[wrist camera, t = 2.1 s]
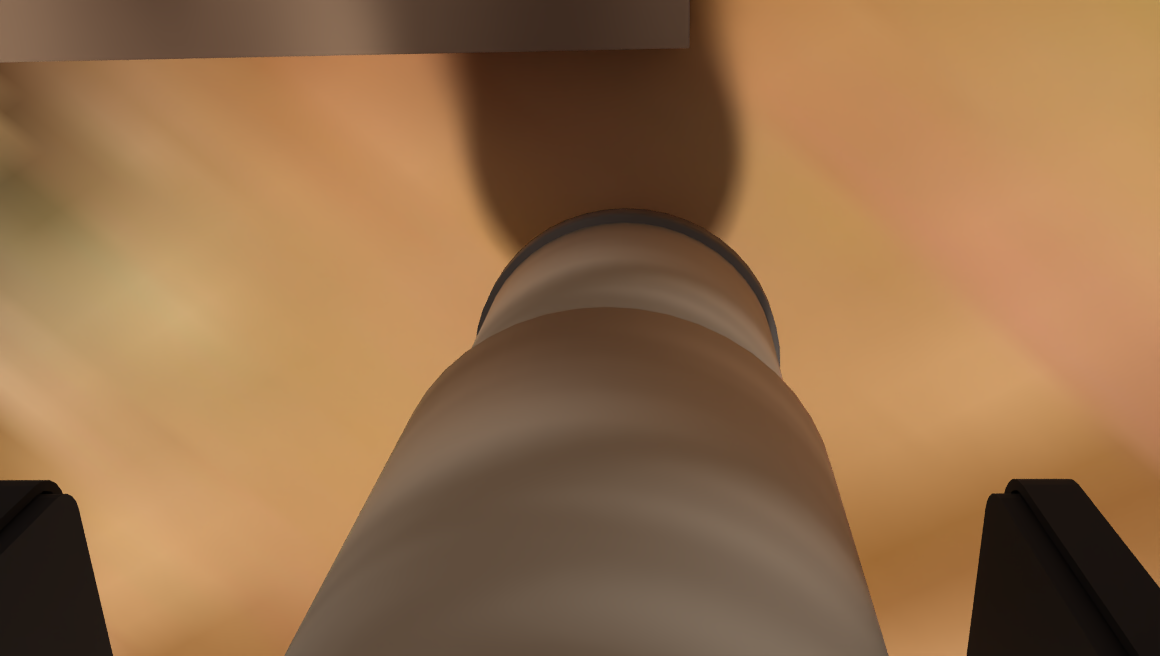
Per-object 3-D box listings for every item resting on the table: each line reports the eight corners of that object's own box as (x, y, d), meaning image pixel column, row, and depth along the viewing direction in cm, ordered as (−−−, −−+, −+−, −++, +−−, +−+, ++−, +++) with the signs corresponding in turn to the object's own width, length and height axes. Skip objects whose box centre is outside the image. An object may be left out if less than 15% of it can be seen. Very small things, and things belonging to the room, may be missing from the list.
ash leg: (779, 159, 19) (1018, 658, 6) (768, 427, 21) (932, 1248, 8) (485, 162, 19) (113, 635, 6) (501, 423, 21) (239, 1198, 8)
